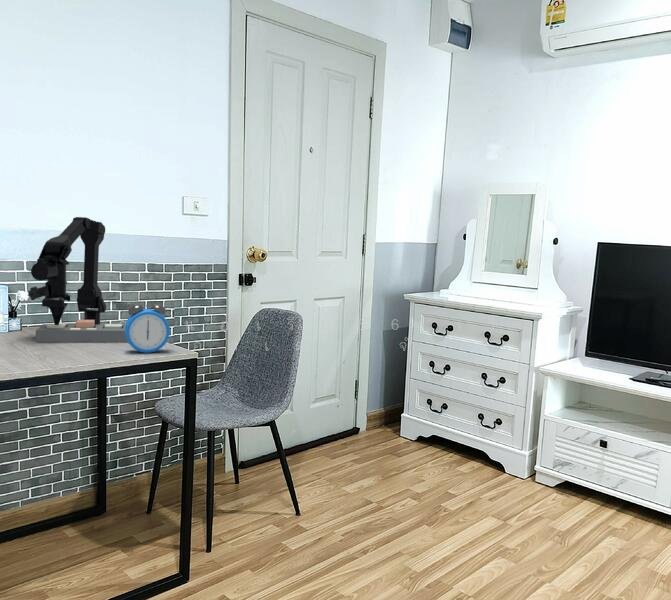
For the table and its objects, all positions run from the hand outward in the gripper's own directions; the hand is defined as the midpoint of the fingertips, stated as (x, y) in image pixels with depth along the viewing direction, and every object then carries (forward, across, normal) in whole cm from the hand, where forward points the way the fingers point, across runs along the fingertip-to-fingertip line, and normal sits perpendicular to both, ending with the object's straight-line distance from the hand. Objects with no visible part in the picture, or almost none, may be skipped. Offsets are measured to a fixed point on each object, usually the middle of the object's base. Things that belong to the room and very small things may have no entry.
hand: (56, 324), depth 207 cm
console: (+4, +2, +9) cm, 10 cm away
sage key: (+3, 0, +18) cm, 18 cm away
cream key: (+3, 0, 0) cm, 3 cm away
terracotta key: (+2, 0, +9) cm, 9 cm away
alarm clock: (+5, +24, +30) cm, 38 cm away
